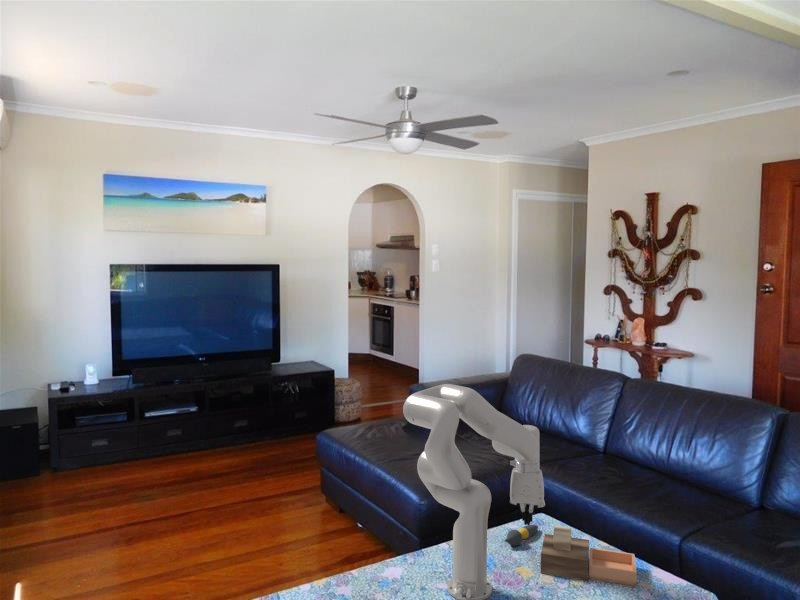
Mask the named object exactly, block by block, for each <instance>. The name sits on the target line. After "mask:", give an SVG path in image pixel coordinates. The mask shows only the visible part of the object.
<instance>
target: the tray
mask: <svg viewBox="0 0 800 600" xmlns="http://www.w3.org/2000/svg"><path fill="white" fill-rule="evenodd" d="M636 562H637V561H636V557H635V553H632V552H631V553H630V552H622V551H617V550H609V549H601V548H594V547H589V571H588V580H593V581H598V582H606V583H612V584H618V585H626V586H631V587H637V583H638V576H637V575H638V573H637V564H636Z"/></svg>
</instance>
